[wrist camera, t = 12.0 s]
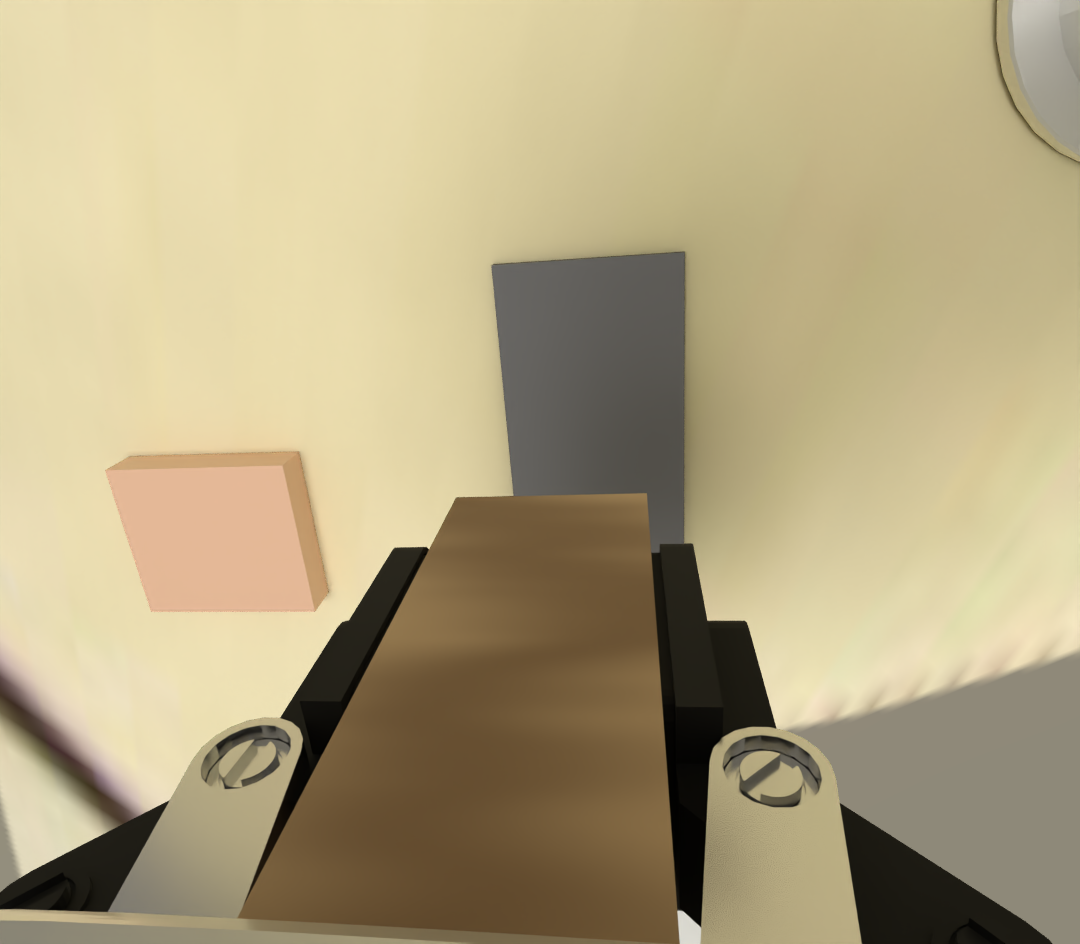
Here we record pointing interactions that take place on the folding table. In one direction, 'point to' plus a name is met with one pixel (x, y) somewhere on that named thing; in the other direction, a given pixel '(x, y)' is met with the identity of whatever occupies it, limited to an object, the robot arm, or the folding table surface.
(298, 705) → the robot arm
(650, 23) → the folding table surface
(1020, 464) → the folding table surface
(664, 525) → the mat
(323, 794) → the block on white plate
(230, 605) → the tile
